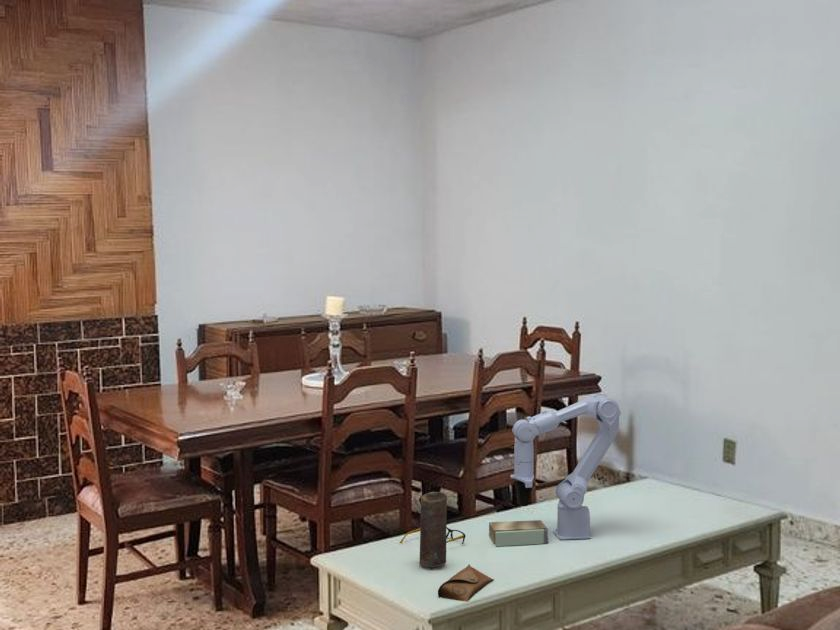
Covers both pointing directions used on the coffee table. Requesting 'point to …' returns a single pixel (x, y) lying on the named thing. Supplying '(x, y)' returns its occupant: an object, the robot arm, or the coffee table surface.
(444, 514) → the candle
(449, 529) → the eyeglasses
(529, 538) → the sage green panel
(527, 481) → the robot arm
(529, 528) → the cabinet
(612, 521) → the coffee table surface
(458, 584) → the sunglasses case
